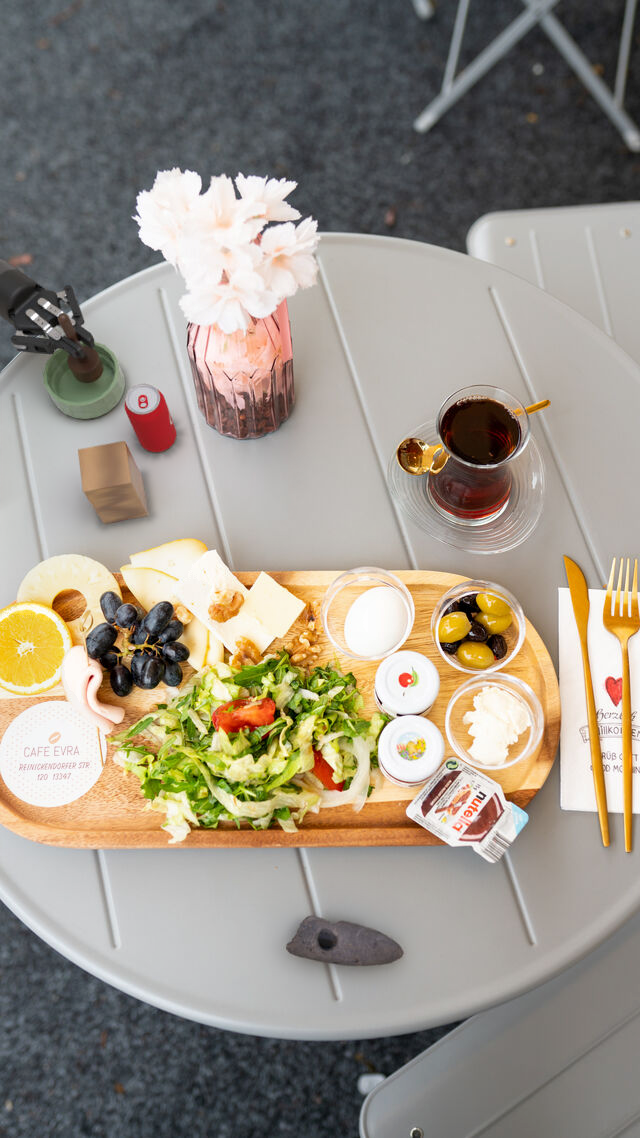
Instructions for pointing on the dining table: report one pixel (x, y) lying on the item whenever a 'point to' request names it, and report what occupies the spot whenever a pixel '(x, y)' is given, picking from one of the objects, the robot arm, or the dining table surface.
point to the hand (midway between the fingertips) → (87, 348)
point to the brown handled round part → (87, 366)
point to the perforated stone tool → (343, 943)
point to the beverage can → (150, 418)
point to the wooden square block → (112, 482)
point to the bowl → (84, 385)
